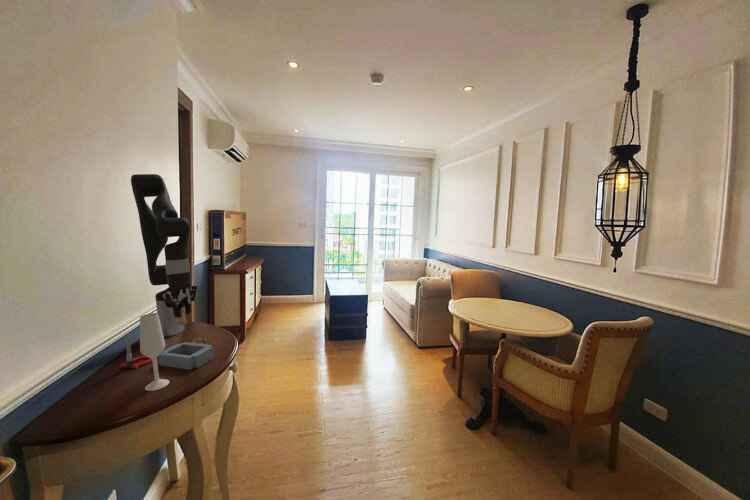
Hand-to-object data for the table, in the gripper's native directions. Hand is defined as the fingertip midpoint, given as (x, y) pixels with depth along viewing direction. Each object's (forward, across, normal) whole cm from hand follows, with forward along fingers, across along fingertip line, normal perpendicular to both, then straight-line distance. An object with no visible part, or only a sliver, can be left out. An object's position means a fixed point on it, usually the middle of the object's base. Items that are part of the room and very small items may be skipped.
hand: (182, 315), depth 115 cm
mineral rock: (+19, -10, -8) cm, 23 cm away
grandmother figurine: (+4, 0, 0) cm, 4 cm away
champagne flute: (+18, +16, +5) cm, 25 cm away
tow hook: (+19, +5, -17) cm, 26 cm away
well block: (+18, 0, 0) cm, 18 cm away
